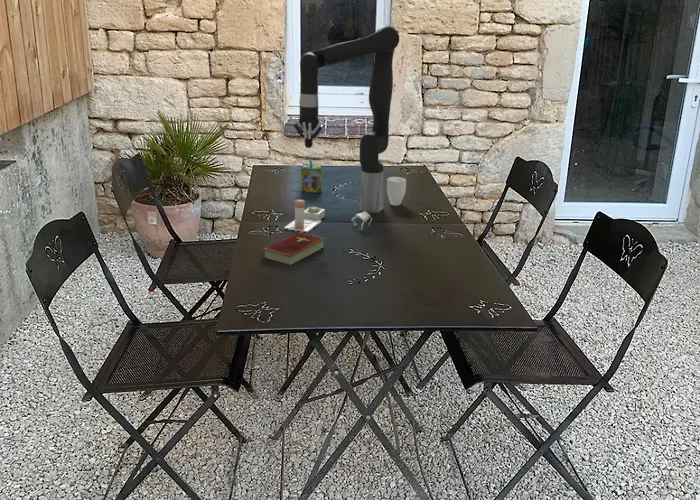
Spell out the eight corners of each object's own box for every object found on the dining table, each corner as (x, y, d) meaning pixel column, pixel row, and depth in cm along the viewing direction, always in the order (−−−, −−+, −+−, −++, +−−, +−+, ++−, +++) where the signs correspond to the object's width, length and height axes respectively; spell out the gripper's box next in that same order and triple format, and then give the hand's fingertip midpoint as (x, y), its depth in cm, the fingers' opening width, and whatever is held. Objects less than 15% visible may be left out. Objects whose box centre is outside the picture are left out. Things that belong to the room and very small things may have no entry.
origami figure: (349, 222, 271) (349, 211, 269) (369, 222, 272) (370, 210, 270) (354, 232, 260) (354, 220, 258) (375, 232, 261) (376, 220, 259)
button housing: (324, 216, 277) (324, 209, 275) (318, 221, 270) (318, 214, 269) (309, 213, 279) (309, 207, 278) (302, 218, 273) (302, 211, 271)
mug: (404, 207, 291) (406, 182, 287) (385, 206, 291) (387, 181, 287) (404, 199, 302) (406, 174, 298) (386, 198, 303) (387, 174, 298)
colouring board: (321, 222, 270) (321, 219, 269) (307, 233, 257) (307, 230, 257) (298, 218, 273) (298, 216, 272) (284, 229, 260) (284, 227, 260)
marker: (305, 225, 262) (306, 200, 259) (301, 228, 259) (301, 202, 256) (297, 223, 264) (297, 199, 260) (292, 226, 261) (293, 201, 257)
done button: (320, 214, 275) (320, 207, 274) (316, 217, 272) (316, 210, 271) (310, 213, 277) (311, 206, 276) (306, 216, 273) (306, 209, 272)
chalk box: (321, 193, 307) (321, 161, 301) (301, 192, 307) (301, 161, 301) (322, 187, 315) (322, 157, 310) (303, 187, 315) (303, 156, 310)
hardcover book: (263, 258, 233) (262, 247, 232) (298, 241, 250) (298, 230, 249) (290, 266, 228) (290, 255, 226) (325, 248, 244) (325, 237, 243)
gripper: (327, 104, 268) (327, 147, 275) (297, 102, 272) (297, 144, 279) (320, 107, 262) (320, 151, 268) (290, 104, 266) (290, 147, 272)
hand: (308, 147), depth 273 cm, fingers closed
